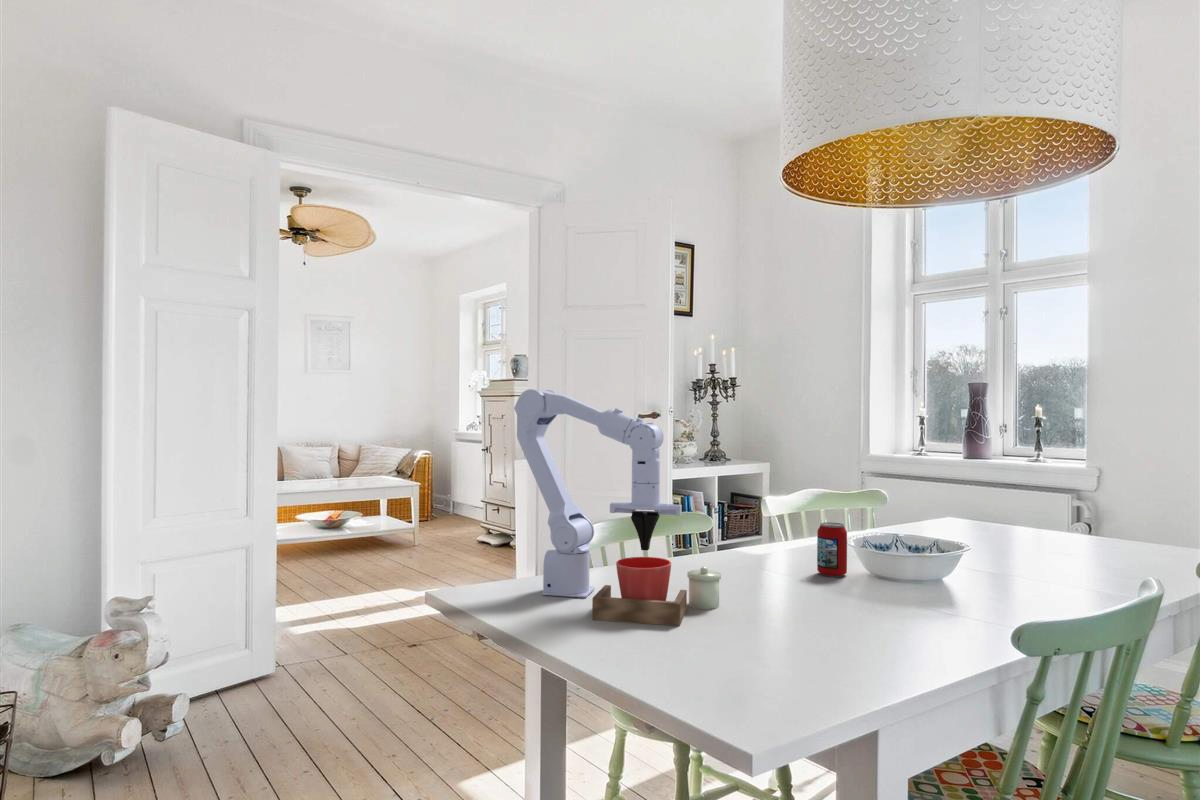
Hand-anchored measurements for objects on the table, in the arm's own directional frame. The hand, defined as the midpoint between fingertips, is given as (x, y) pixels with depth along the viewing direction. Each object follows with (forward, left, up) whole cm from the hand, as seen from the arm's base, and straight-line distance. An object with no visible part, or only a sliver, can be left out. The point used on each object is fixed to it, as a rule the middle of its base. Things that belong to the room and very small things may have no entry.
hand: (645, 549), depth 154 cm
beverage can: (+39, +36, -11) cm, 54 cm away
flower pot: (+1, -9, -11) cm, 14 cm away
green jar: (+12, 0, -10) cm, 16 cm away
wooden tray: (+1, -10, -10) cm, 15 cm away
